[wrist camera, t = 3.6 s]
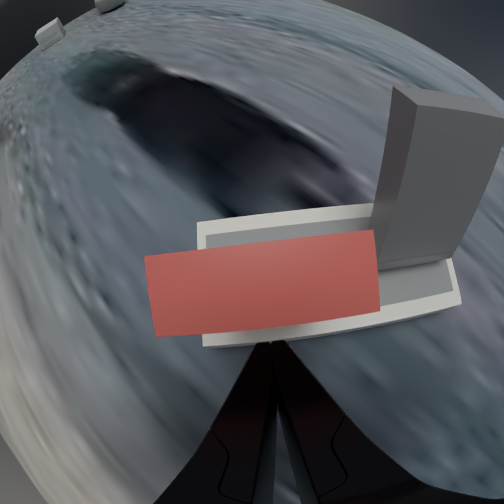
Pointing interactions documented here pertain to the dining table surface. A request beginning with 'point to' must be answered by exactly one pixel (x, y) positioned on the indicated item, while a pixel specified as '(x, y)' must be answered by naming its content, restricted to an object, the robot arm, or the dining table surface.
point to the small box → (50, 34)
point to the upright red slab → (263, 284)
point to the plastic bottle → (107, 4)
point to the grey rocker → (432, 174)
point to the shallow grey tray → (322, 223)
